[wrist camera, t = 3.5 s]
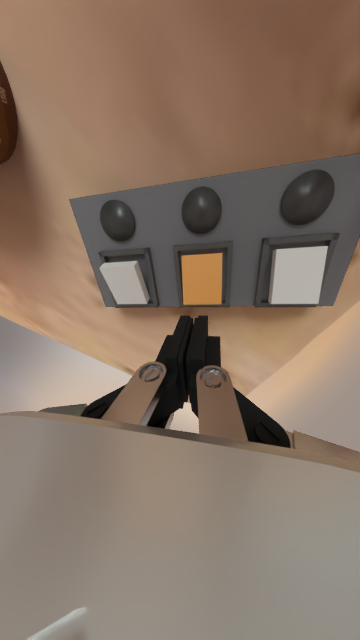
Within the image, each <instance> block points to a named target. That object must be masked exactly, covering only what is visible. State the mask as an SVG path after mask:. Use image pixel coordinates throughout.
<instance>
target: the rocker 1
mask: <svg viewBox="0 0 360 640" xmlns="http://www.w3.org/2000/svg"><path fill="white" fill-rule="evenodd" d="M99 269H100V271H101V273H102V275H103V277H104V279H105V280H106V282H107V284H108V286H109V288H110V290H111V292H112V294H113V296H114V298H115V300H116V302H117V304H147V303H148V301H149V299H150V297H149V294H148V291H147V288H146V285H145V282H144V279H143V276H142V273H141V270H140V267H139V264H138V261H128V262H112V263H104V264H103V265H102V266H101V267H100V268H99Z"/></svg>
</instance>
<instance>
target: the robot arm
mask: <svg viewBox="0 0 360 640" xmlns="http://www.w3.org/2000/svg"><path fill="white" fill-rule="evenodd" d="M188 396H189V398H190V403H191V407H192V411H193V412H194V413H195V415H196V416H197V417H198V418H199V433H200V434H196V433H190V432H183V431H176V430H170V429H169V427H170V425H171V422H172V420H173V416H174V412H175V411H176V410H178V409H179V408H181V409H182V408H183V404H184V402H187V401H188ZM0 640H360V452H357V451H354V450H351V449H348V448H345V447H342V446H339V445H336V444H333V443H330V442H327V441H324V440H321V439H318V438H315V437H312V436H309V435H306V434H303V433H300V432H297V431H293V433H291V432H288V431H285V430H284V429H283V428H282V427H281V426H280V425H279V424H278V423H277V422H276V421H274V420H273V419H272V418H271V417H269V416H268V415H267V414H266V413H265V412H263V411H262V410H261V409H260V408H258V407H257V406H256V405H255V404H254V403H252V402H251V401H250V400H249V399H247V398H246V397H245V396H244V395H242V394H241V393H240V392H239V391H237V390H236V389H235V388H234V387H233V385H232V382H231V378H230V376H229V374H228V372H227V371H226V370H225V369H223V368H221V358H220V337H214V336H208V316H199V317H198V318H195V321H194V325H193V318H190V316H180V318H179V321H178V323H177V326H176V329H175V331H174V334H173V335H167V337H166V339H165V341H164V343H163V345H162V348H161V350H160V352H159V354H158V356H157V359H156V361H155V362H148V363H146V364H144V365H142V366H141V367H140V368H139V369H138V370H137V371H136V372H135V374H134V375H133V376H132V378H131V379H130V381H129V382H128V383H127V384H126V385H124V386H122V387H121V388H119V389H117V390H115V391H113V392H111V393H109V394H107V395H105V396H103V397H102V398H100V399H98V400H96V401H94V402H93V403H91V404H90V405H89V406H87V404H79V405H70V406H60V407H52V408H46V409H42V410H40V411H38V412H35V411H22V412H9V413H2V414H0Z"/></svg>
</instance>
